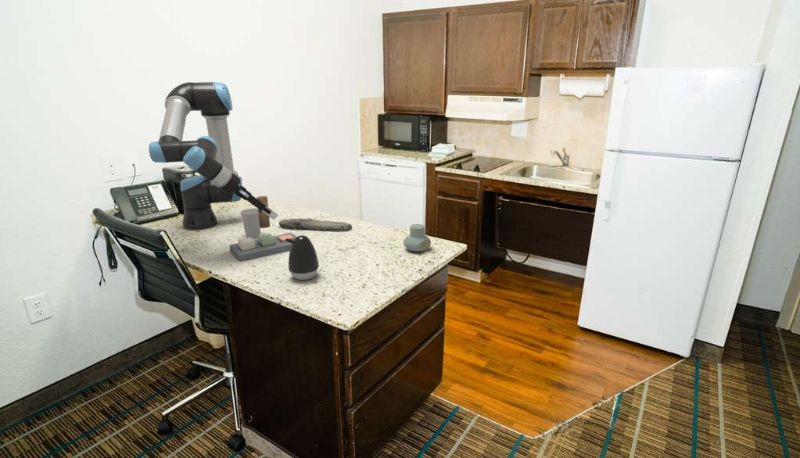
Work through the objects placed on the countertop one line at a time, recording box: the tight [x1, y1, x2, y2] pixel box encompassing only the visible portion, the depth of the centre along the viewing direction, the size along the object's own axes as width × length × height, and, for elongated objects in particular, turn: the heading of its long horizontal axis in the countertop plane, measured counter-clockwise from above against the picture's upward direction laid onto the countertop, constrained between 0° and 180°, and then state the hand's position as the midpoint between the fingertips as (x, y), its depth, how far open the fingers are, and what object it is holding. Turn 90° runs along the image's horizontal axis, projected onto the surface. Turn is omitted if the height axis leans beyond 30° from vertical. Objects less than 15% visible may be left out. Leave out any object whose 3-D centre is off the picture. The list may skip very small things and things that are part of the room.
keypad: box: [228, 232, 297, 262], centre depth 174 cm, size 14×26×2 cm, turn 126°
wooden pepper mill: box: [256, 195, 271, 229], centre depth 169 cm, size 4×4×12 cm
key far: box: [278, 235, 294, 243], centre depth 178 cm, size 5×5×3 cm
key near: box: [237, 237, 255, 251], centre depth 169 cm, size 5×5×3 cm
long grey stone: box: [278, 217, 353, 232], centre depth 200 cm, size 35×5×10 cm
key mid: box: [258, 233, 275, 246], centre depth 173 cm, size 5×5×3 cm
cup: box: [240, 207, 262, 240], centre depth 187 cm, size 8×8×12 cm
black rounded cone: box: [286, 234, 320, 281], centre depth 147 cm, size 10×10×15 cm
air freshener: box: [403, 223, 432, 253], centre depth 172 cm, size 11×8×10 cm
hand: (273, 215), depth 172 cm, fingers closed on wooden pepper mill, 4 cm apart
